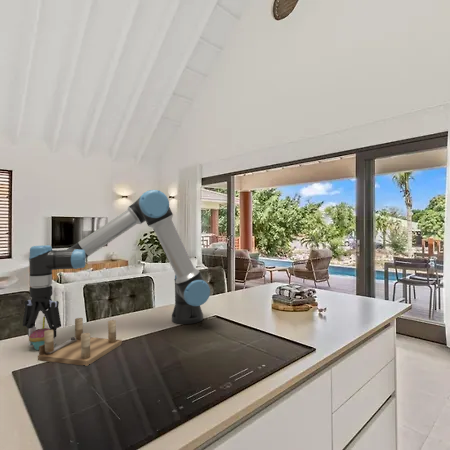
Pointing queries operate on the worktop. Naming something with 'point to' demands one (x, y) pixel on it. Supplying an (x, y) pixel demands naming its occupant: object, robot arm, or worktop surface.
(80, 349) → the wooden peg board
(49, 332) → the gray bar with post
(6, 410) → the worktop surface
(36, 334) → the cupcake
